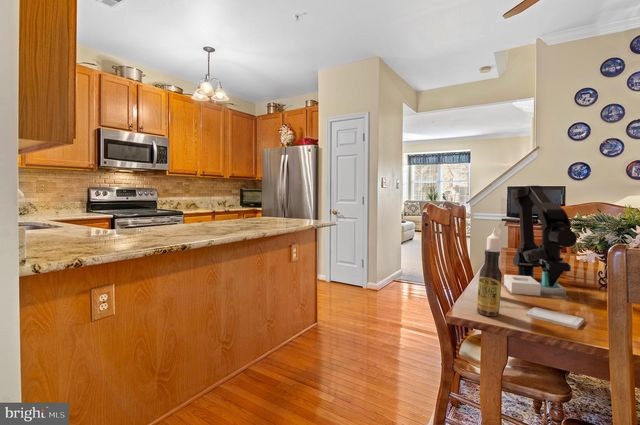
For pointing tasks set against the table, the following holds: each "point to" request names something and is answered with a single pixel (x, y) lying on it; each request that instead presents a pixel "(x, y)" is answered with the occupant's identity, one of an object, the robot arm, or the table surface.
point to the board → (542, 295)
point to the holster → (553, 290)
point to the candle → (495, 244)
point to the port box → (522, 285)
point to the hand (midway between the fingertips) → (549, 284)
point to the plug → (545, 280)
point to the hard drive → (555, 317)
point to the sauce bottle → (489, 285)
